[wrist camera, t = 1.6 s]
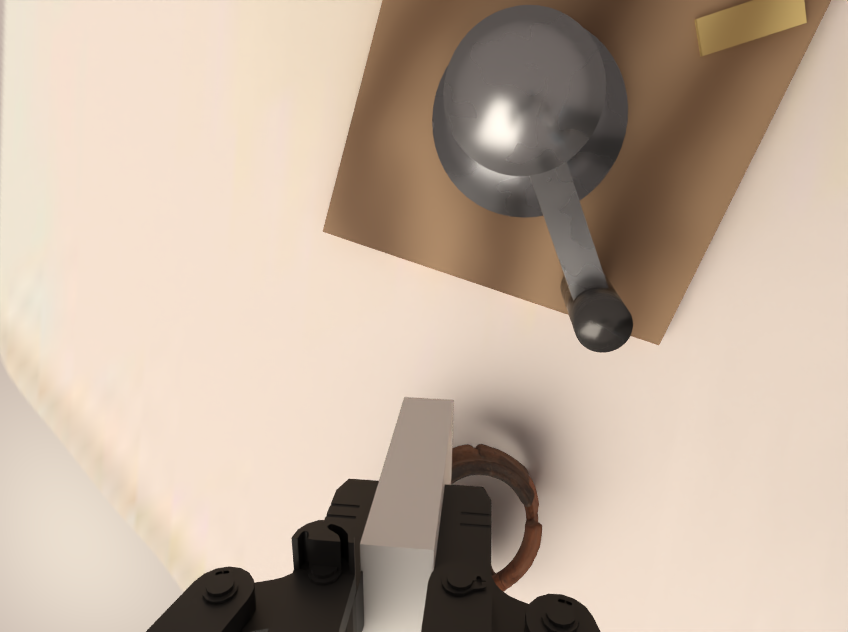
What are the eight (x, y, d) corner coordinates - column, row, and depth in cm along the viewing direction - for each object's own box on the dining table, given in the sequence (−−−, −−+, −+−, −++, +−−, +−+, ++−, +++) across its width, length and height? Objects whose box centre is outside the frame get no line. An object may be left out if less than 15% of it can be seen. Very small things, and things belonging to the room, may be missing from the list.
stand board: (837, -37, 27) (890, -59, 23) (653, 337, 33) (672, 364, 30) (422, -178, 27) (411, -222, 23) (320, 224, 33) (299, 238, 30)
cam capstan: (405, 66, 29) (383, 56, 23) (590, -18, 27) (616, -53, 21) (509, 333, 33) (512, 382, 27) (677, 276, 31) (720, 316, 25)
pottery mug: (351, 462, 39) (370, 488, 31) (480, 407, 41) (529, 418, 33) (416, 635, 39) (451, 706, 31) (541, 570, 41) (604, 620, 33)
